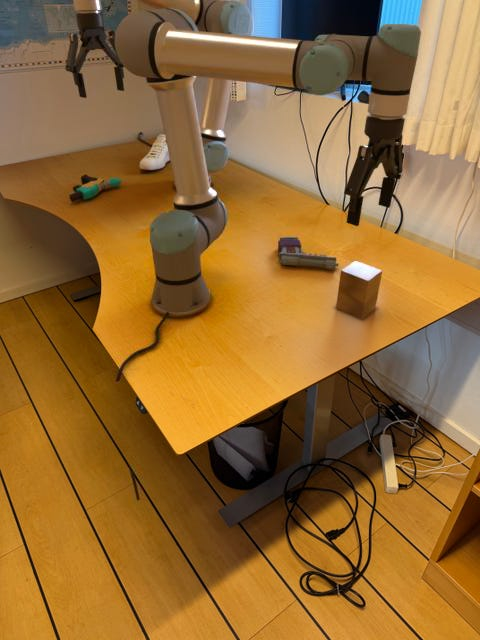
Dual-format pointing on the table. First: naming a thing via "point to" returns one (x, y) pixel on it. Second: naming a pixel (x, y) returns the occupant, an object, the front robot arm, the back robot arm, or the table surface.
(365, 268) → the block
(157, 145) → the sneaker
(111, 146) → the table surface
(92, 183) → the toy gun
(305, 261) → the toy gun
